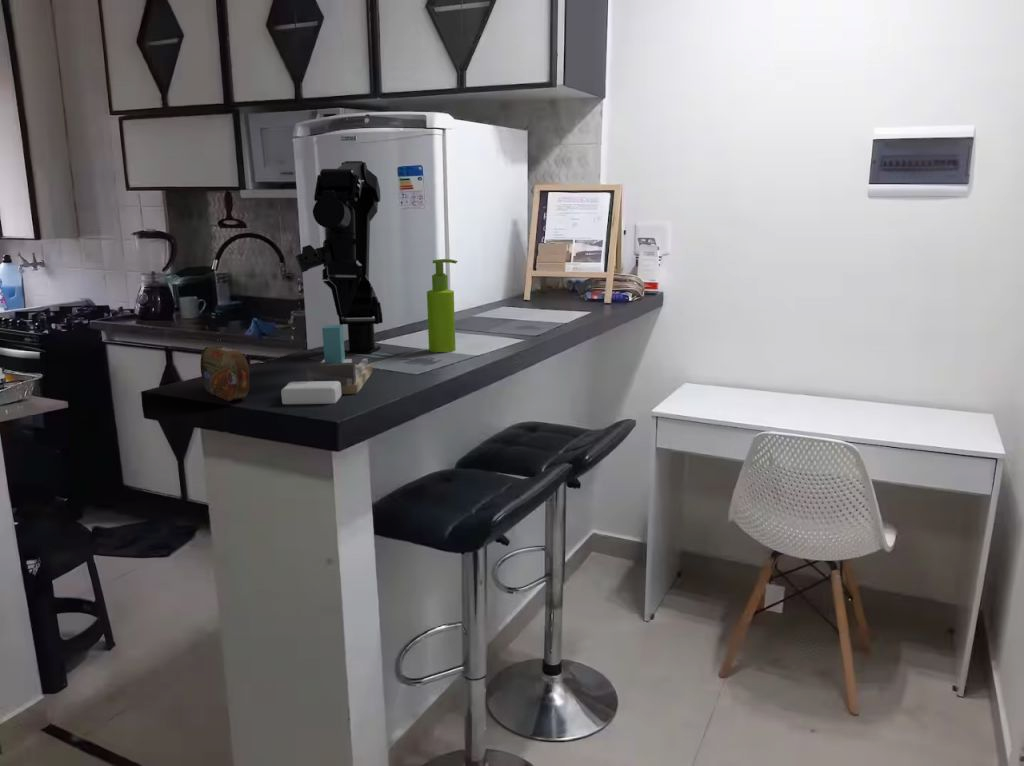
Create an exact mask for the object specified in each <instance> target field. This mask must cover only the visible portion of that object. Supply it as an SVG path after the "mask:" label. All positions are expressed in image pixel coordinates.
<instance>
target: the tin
mask: <svg viewBox="0 0 1024 766" xmlns="http://www.w3.org/2000/svg"><path fill="white" fill-rule="evenodd" d="M199 368H200V375H201V378H202V383H203V386H204V388H205V390H206V391H207V392H208V393H209V392H210V393H211V394H210V393H209V394H210V395H212V394H213V396H214V395H216V396H215V397H217V396H218V397H217V398H219V399H222V398H223V400H225V401H228V402H232V401H237V400H242V399H245V398H246V397H247V395H248V393H249V391H250V367H249V363H248V360H247V359H246V356H245V355H244V354H243V353H242V352H240V351H239V350H234V349H231V348H227V347H225V346H224V347H223V346H205V348H204V349H203V351H202V352H201V356H200V367H199Z"/></svg>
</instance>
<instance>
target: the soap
mask: <svg viewBox="0 0 1024 766" xmlns="http://www.w3.org/2000/svg"><path fill="white" fill-rule="evenodd" d="M280 391H281V393H280V394H281V403H282V405H321V404H322V405H328V404H329V405H331V404H337V402H338V401H339V400H340V398H341V397H342V395H343V394H342V393H341V383H340V382H339V381H306V380H305V381H290V382H288V383H287V384H286V385H285V386H284V387H283V388H282V389H281V390H280Z"/></svg>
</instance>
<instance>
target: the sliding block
mask: <svg viewBox="0 0 1024 766" xmlns="http://www.w3.org/2000/svg"><path fill="white" fill-rule="evenodd" d="M321 330H322V342H323V343H322V344H323V355H324V356H323V357H324V359H323V360H322V361H320V363H353V360H352V358H346V355H345V354H346V352H345V351H344V349H345V340H344V339H345V337H344V324H343V325H340V324H326V325H324V326H323V327H321Z"/></svg>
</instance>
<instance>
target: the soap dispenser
mask: <svg viewBox="0 0 1024 766" xmlns="http://www.w3.org/2000/svg"><path fill="white" fill-rule="evenodd" d="M458 262H459V261H458V260H456V259H450V258H442V259H441V258H439V259H433V260H432V264H435V273H433V274H432V275H431V285H432V286H431V287H432V289H431V290H428V291H426V302H427V303H426V304H427V305H426V307H427V331H428V334H427V335H428V337H427V338H428V351H429V352H430V351H431V352H430V353H437V352H444V353H451V352H450V351H452V352H454V350H455V351H456V325H455V324H456V322H455V291H454V290H452V289H449V285H448V284H449V283H448V282H449V279H448V276H449V275H448V274H446V273H444V263H449V264H450V263H451V264H457V263H458Z"/></svg>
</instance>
